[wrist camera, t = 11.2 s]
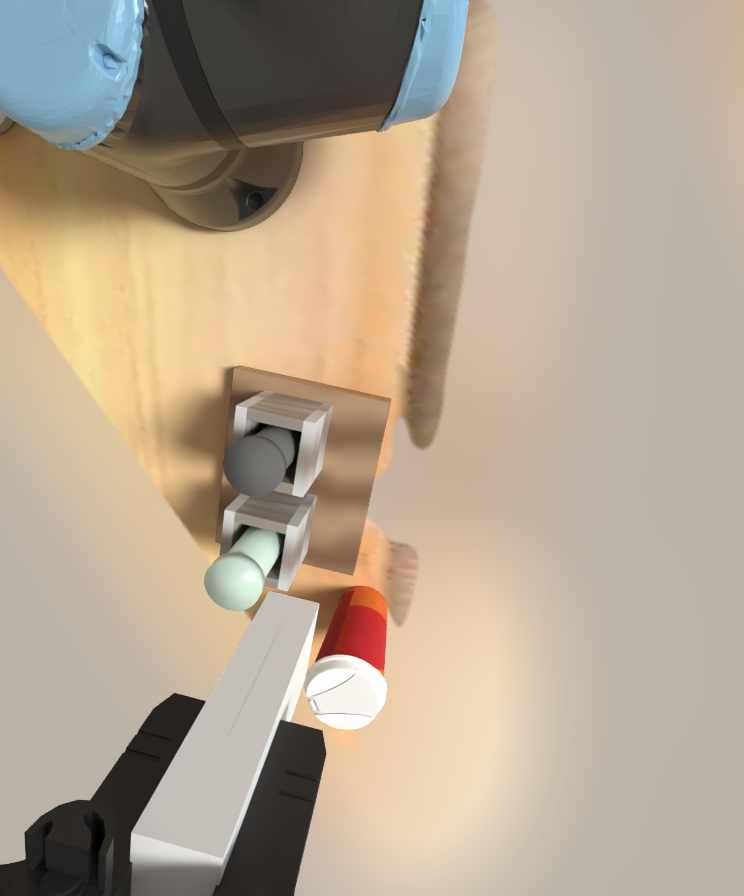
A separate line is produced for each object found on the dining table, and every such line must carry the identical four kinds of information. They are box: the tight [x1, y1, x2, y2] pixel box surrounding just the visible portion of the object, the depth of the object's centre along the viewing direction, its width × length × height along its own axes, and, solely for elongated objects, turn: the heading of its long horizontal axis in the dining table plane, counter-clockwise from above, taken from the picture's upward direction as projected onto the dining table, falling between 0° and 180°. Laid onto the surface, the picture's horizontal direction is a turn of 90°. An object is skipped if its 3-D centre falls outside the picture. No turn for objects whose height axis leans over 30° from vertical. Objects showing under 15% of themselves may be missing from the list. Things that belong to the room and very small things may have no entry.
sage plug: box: [204, 526, 286, 611], centre depth 44 cm, size 5×5×11 cm
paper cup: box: [304, 586, 387, 729], centre depth 49 cm, size 8×8×14 cm
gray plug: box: [223, 424, 302, 497], centre depth 43 cm, size 5×5×11 cm
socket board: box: [216, 366, 391, 591], centre depth 47 cm, size 20×16×10 cm
